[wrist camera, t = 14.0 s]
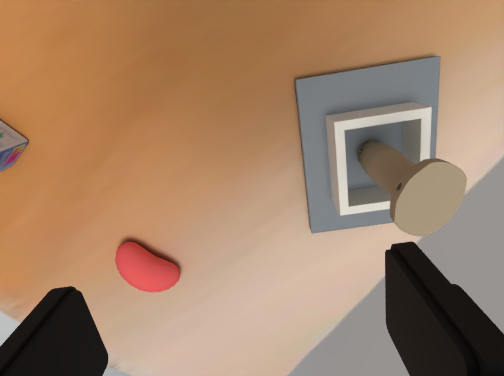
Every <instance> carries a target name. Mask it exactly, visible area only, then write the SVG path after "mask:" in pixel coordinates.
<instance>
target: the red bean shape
mask: <svg viewBox="0 0 504 376" xmlns="http://www.w3.org/2000/svg"><path fill="white" fill-rule="evenodd" d="M116 265H117V269H118V271H119V273H120V274H121V276H122V277H123V278H124V279H125V280H126V281H127V282H128V283H129V284H130V285H132V286H133V287H135V288H137V289H139V290H142V291H147V292H161V291H164V290H167V289H169V288H171V287H172V286H174V285H175V284H176V283H177V282H178V281H179V278H180V271H179V269H178V267H177V266H176V265H174V264H173V263H171V262H168V261H166V260H164V259H161V258H158V257H156V256H154V255H152V254H151V253H150V252H148V251H147V250H145V249H144V248H143V247H141V246H140V245H138V244H136V243H134V242H125V243H123V244H121V245H120V246H119V247H118V249H117V252H116Z"/></svg>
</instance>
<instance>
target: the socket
mask: <svg viewBox="0 0 504 376" xmlns="http://www.w3.org/2000/svg"><path fill="white" fill-rule="evenodd" d="M439 76H440V56H433V57H426V58H420V59H414V60H408V61H402V62H396V63H390V64H384V65H378V66H372V67H366V68H360V69H354V70H348V71H342V72H336V73H330V74H324V75H318V76H312V77H306V78H299V79H294V80H295V90H296V99H297V109H298V118H299V128H300V137H301V147H302V156H303V166H304V175H305V185H306V194H307V204H308V213H309V223H310V229H311V232H312V233H319V232H326V231H334V230H341V229H348V228H356V227H363V226H371V225H378V224H385V223H393V221H392V219H391V217H390V200H391V194H390V193H389V192H387V191H386V190H385V189H384V188H382V187H381V186H380V185H378V184H377V183H376V182H374V181H373V180H372V179H371V178H370V177H369V176H368V175H367V174H366V172H365V171H364V169H363V168H362V166H361V165H360V163H359V161H358V159H359V153H358V148H359V147H360V146H364V145H365V144H366V143H367V142H368V141H375V142H376V143H383V144H386V145H389V146H391V147H393V148H395V149H397V150H398V151H400V152H401V153H402V154H403V155H405V156H406V157H407V158H408V159H409V160H411V161H412V162H413V163H414V164H417V163H419V162H420V161H422V160H424V159H431V158H435V157H436V137H437V116H438V96H439Z"/></svg>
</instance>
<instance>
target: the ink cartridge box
mask: <svg viewBox="0 0 504 376" xmlns="http://www.w3.org/2000/svg"><path fill="white" fill-rule="evenodd" d="M27 144H28V140H27V139H26V138H24V137H23V136H21V135H20V134H19V133H17V132H16V131H14V130H13V129H12V128H10V127H9V126H7V125H6V124H5V123H3V122H2V121H1V120H0V171H2V170H5V169H7V168H9V167H11V166H12V165H13V164H14V162H15V161H16V160H17V158H18V157H19V155H20V154H21V152H22V151H23V150H24V148H25V147H26V145H27Z"/></svg>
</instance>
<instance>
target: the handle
mask: <svg viewBox="0 0 504 376" xmlns="http://www.w3.org/2000/svg"><path fill="white" fill-rule="evenodd" d="M358 153H359V159H358V161H359V163H360V165H361V166H362V168H363V169H364V171H365V172H366V174H367V175H368V176H369V177H370V178H371V179H372V180H373V181H374V182H376V183H377V184H378V185H380V186H381V187H382V188H384V189H385V190H386V191H387V192H389V193H390V194H391V200H390V217H391V219H392V221H393V222H394V223H395V224H396V225H397V227H398V228H399V229H401V230H402V231H403V232H406V233H408V234H411V235H414V236H426V235H430V234H431V233H433V232H434V231H436V230H437V229H438V228H440V227H442V226H443V225H444V224H445V223H446V222H448V221H449V220H450V218H451V217H452V216H453V214H454V213H455V211H456V210H457V208H458V207H459V205H460V204H461V202H462V200H463V197H464V193H465V188H466V182H467V177H466V175H465V173H464V172H463V171H462V170H461V169H460V168H458V167H457V166H455V165H453V164H451V163H449V162H447V161H444V160H440V159H435V158H431V159H424V160H422V161H420V162H419V163H417V164H414V163H413V162H412V161H411V160H409V159H408V158H407V157H406V156H405V155H403V154H402V153H401V152H400V151H398V150H397V149H395V148H393V147H391V146H389V145H386V144H383V143H376V142H375V141H368V142H367V143H366V144H365V145H364V146H360V147H359V148H358Z"/></svg>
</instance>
